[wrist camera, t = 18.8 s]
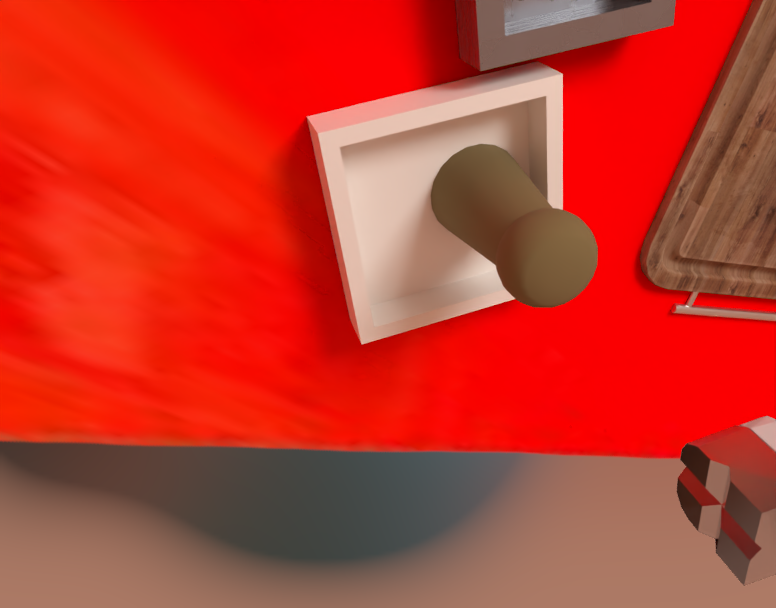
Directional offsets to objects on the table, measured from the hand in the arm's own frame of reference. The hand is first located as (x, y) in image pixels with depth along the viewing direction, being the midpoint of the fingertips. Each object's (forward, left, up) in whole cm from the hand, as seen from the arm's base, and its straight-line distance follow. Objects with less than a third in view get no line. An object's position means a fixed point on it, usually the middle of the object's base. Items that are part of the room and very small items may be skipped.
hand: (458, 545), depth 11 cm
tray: (+10, -10, -31) cm, 34 cm away
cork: (+12, -10, -31) cm, 34 cm away
